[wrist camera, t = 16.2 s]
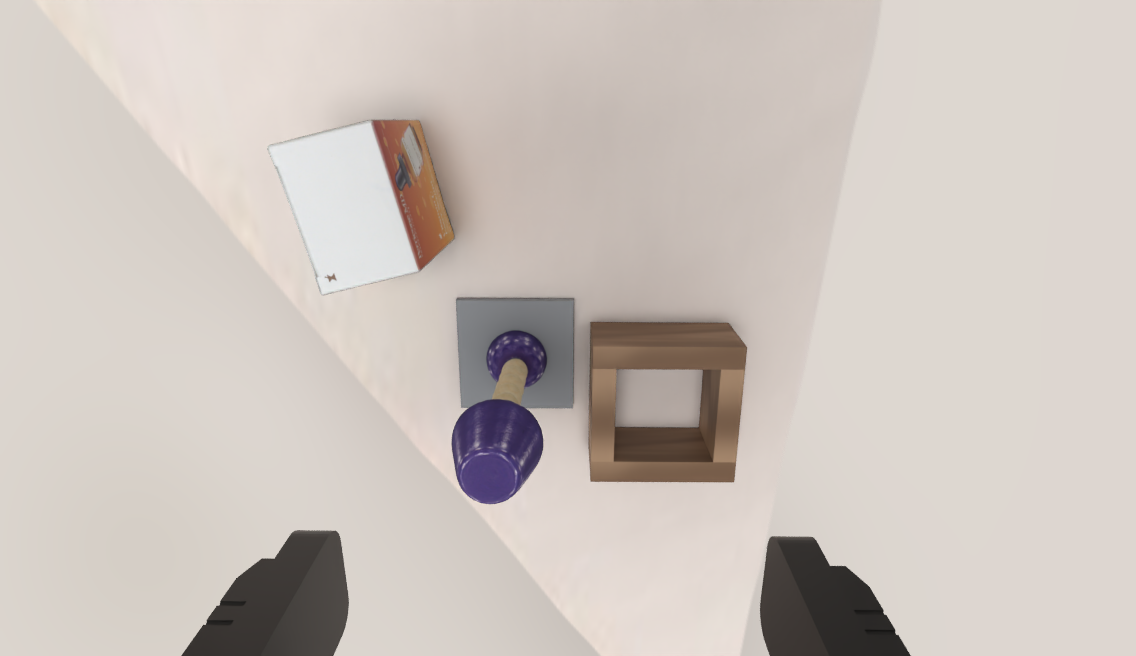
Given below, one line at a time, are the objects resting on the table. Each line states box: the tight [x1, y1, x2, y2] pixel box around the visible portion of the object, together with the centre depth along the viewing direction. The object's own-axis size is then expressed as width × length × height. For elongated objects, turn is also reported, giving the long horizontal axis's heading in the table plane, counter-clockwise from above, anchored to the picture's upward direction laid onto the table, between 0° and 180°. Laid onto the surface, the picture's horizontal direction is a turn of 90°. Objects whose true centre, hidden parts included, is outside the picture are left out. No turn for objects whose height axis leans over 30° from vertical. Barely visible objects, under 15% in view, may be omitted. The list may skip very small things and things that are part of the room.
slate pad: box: [456, 298, 574, 408], centre depth 46 cm, size 8×8×1 cm
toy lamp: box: [452, 331, 547, 504], centre depth 38 cm, size 5×5×17 cm
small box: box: [267, 119, 454, 295], centre depth 38 cm, size 8×6×10 cm
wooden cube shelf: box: [589, 322, 747, 482], centre depth 44 cm, size 10×10×5 cm
